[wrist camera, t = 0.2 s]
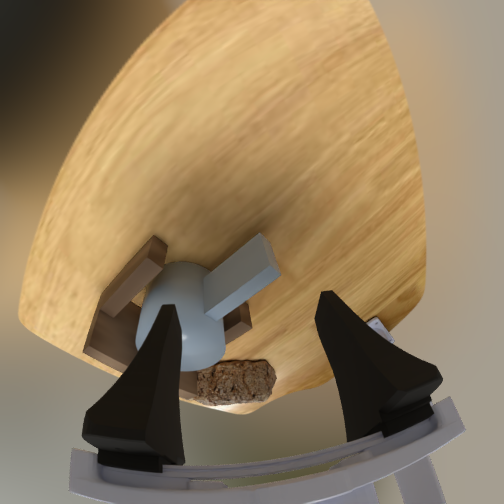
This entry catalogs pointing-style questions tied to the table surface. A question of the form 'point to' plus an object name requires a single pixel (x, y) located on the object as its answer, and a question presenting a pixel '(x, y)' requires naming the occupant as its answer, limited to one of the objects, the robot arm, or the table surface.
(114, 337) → the caddy
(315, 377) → the table surface
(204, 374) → the rock
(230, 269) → the finned dome knob
